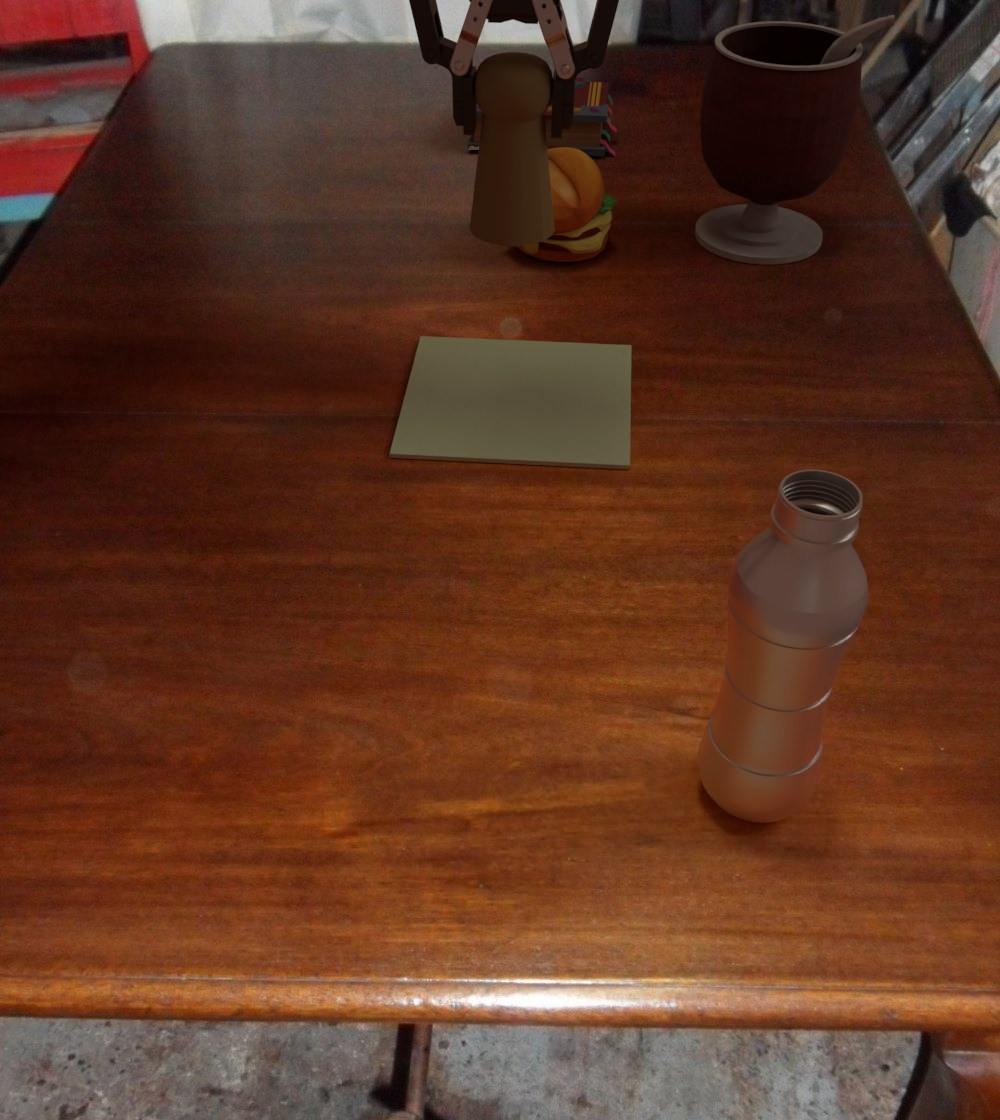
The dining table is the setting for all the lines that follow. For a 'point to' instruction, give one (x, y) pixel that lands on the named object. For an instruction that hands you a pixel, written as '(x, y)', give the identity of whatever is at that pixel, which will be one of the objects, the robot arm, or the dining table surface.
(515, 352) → the mat
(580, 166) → the cheeseburger
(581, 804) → the dining table surface
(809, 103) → the mate gourd
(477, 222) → the cork
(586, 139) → the decorative book
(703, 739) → the plastic bottle
